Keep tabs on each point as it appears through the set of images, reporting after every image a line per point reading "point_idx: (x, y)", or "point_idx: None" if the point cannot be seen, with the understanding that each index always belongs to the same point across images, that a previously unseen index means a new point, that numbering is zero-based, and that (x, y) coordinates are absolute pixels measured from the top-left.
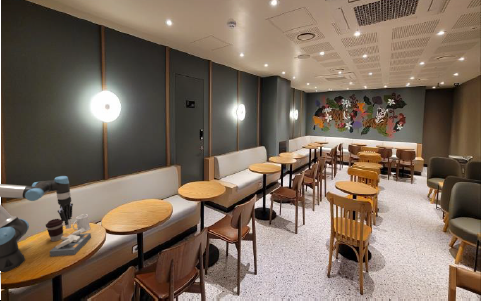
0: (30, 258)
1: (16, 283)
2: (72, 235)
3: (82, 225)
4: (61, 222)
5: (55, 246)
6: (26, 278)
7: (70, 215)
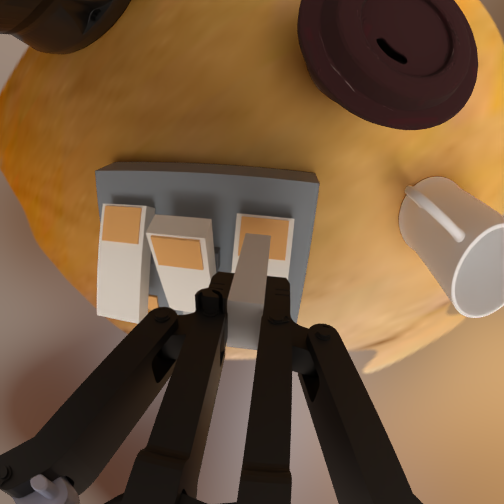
0: (114, 50)
1: None
2: (200, 283)
3: (422, 250)
4: (393, 127)
5: (142, 173)
6: (5, 171)
7: (305, 380)
